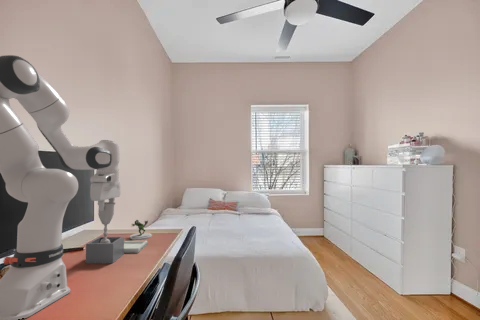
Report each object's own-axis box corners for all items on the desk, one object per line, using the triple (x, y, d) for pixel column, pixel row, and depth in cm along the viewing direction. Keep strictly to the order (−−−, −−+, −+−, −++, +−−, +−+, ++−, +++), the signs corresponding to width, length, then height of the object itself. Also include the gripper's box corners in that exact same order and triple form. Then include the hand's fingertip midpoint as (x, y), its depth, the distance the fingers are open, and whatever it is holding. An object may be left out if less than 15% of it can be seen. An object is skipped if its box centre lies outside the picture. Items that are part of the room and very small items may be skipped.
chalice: (91, 245, 109) (93, 203, 110) (105, 242, 115) (107, 201, 116) (104, 248, 106) (105, 204, 107) (117, 244, 112) (119, 202, 113)
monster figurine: (125, 237, 146) (125, 219, 146) (144, 233, 155) (144, 216, 156) (137, 241, 139) (137, 221, 139) (156, 236, 148) (156, 218, 148)
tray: (138, 252, 119) (138, 248, 119) (110, 253, 118) (110, 248, 118) (147, 244, 132) (147, 240, 132) (121, 244, 131) (121, 240, 131)
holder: (112, 263, 106) (113, 243, 106) (85, 263, 105) (86, 243, 105) (123, 254, 117) (124, 236, 117) (99, 254, 116) (99, 236, 116)
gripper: (111, 177, 122) (109, 206, 122) (87, 177, 102) (86, 212, 101) (124, 177, 123) (123, 206, 122) (103, 178, 102) (102, 212, 101)
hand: (106, 209), depth 111 cm, fingers closed on chalice, 6 cm apart
